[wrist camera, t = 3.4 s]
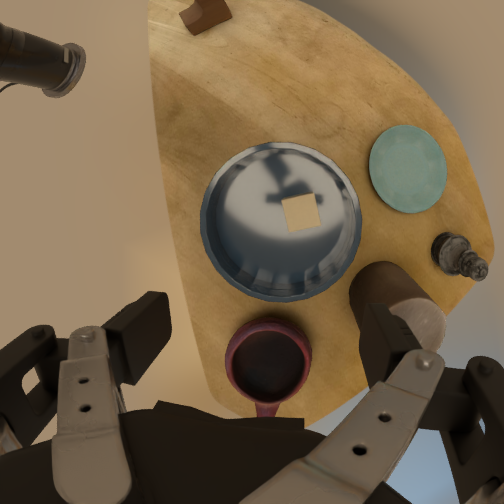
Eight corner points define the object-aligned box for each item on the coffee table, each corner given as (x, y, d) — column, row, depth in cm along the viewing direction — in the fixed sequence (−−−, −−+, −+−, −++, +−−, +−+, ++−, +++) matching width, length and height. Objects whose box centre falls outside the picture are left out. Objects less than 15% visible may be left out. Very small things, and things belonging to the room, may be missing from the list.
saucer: (399, 110, 34) (404, 107, 32) (454, 170, 34) (461, 170, 32) (348, 168, 37) (351, 168, 35) (406, 228, 38) (412, 231, 36)
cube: (290, 227, 40) (288, 232, 36) (283, 197, 39) (281, 200, 35) (319, 220, 39) (321, 225, 35) (312, 191, 38) (314, 193, 34)
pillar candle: (335, 288, 42) (350, 343, 27) (389, 246, 39) (430, 283, 25) (370, 333, 42) (393, 395, 28) (420, 295, 40) (462, 345, 25)
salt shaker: (443, 222, 37) (486, 239, 25) (466, 244, 37) (510, 267, 25) (422, 255, 38) (459, 282, 27) (446, 275, 38) (484, 306, 27)
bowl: (217, 325, 46) (202, 352, 38) (291, 294, 43) (289, 319, 35) (263, 396, 48) (257, 427, 41) (332, 373, 45) (335, 405, 38)
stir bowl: (213, 282, 44) (202, 296, 39) (212, 147, 39) (199, 143, 34) (347, 290, 41) (352, 305, 36) (356, 150, 36) (365, 146, 31)
